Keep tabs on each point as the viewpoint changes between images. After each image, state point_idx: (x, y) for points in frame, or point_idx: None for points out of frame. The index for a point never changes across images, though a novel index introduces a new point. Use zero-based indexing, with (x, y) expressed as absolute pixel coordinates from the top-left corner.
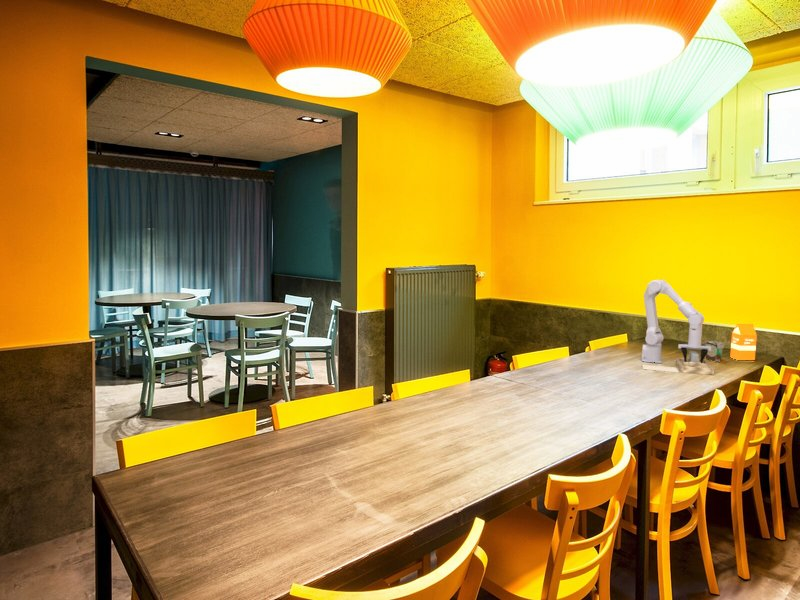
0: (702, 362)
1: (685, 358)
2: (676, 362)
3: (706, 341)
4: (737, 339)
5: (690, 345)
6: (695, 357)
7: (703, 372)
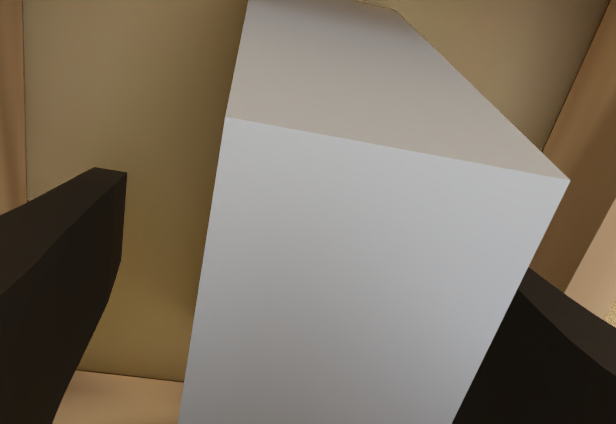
0: (71, 179)
1: (531, 281)
2: None
3: None
4: None
5: None
6: (356, 83)
7: None
